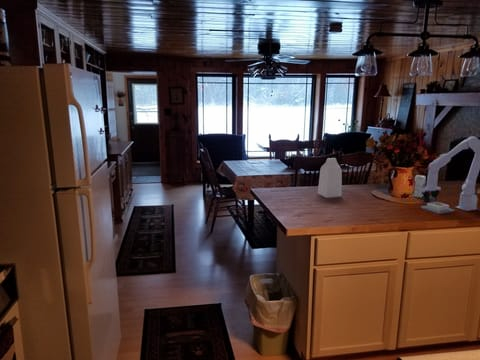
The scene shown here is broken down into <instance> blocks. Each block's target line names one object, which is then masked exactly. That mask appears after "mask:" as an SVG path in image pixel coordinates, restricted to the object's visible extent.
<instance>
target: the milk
mask: <svg viewBox="0 0 480 360" xmlns="http://www.w3.org/2000/svg"><path fill="white" fill-rule="evenodd" d="M342 173H343V170H342V168H341V165H339V163H338V161H337V158H336V157H331V158H330V157H328V158H327V159H326V161H325V162H324V164H322V166H321V167H320V170H319V179H318V188H317V194H318V195H319V196H321V197H324V198H326V199H328V198H338V197H339V198H340V197H342V191H343V190H342V188H343V186H342V183H343V179H342V177H343V174H342Z"/></svg>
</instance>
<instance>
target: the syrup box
mask: <svg viewBox="0 0 480 360" xmlns="http://www.w3.org/2000/svg"><path fill="white" fill-rule="evenodd" d="M426 180H427V178H426V175H422V174H421V175H420V174H417V175H415V176H414V181H415V189H414V193H413V192H412V197H413V196H414V198H419V197H420V199H421V198H424V196H423V194H422V192H421V191H422V189H423V188H425V187H426V185H425V184H426Z"/></svg>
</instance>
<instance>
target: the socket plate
mask: <svg viewBox="0 0 480 360" xmlns="http://www.w3.org/2000/svg"><path fill="white" fill-rule="evenodd" d="M420 208H421V209H422V210H425V211H429V212H431V213H432V212H433V213H434V214H438V215H441V214H447V213H453V212H455V211H456V210H455V209H453V208H450V205H449V204H446V203H443V202H440V201H435V202H432V203H427V205H422V206H420Z"/></svg>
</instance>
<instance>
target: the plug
mask: <svg viewBox="0 0 480 360" xmlns="http://www.w3.org/2000/svg"><path fill="white" fill-rule="evenodd" d="M432 202H436V200H435V197H432V196H431V195H430V197H429V202H428V203H432ZM424 205H425V206H427V203H425V202H424Z"/></svg>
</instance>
